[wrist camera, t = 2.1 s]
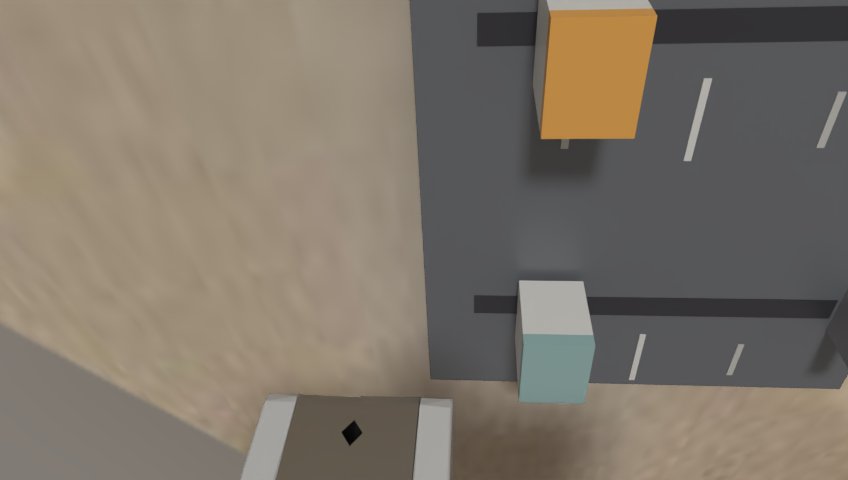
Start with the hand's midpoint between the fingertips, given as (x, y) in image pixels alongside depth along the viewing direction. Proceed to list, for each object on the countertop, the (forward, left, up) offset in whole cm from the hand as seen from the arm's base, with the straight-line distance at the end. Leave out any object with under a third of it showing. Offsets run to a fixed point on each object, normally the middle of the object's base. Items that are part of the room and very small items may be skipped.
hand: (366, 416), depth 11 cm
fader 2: (+5, 0, -16) cm, 17 cm away
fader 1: (+5, -14, -16) cm, 22 cm away
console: (+10, -7, -19) cm, 23 cm away
